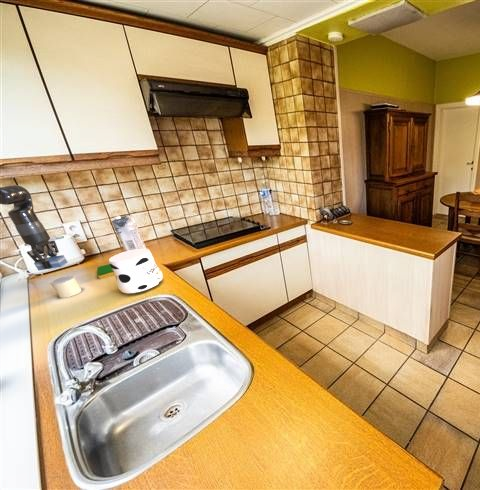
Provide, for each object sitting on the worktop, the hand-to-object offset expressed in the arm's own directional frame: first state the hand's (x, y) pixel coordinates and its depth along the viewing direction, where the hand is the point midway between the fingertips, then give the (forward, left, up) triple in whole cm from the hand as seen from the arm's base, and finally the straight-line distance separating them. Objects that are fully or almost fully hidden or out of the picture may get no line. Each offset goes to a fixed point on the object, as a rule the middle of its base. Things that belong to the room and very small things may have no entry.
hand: (53, 265), depth 123 cm
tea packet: (0, 0, 0) cm, 0 cm away
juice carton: (+16, +38, -16) cm, 45 cm away
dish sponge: (+7, +20, -16) cm, 27 cm away
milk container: (+33, -9, -16) cm, 38 cm away
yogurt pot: (0, 0, -16) cm, 16 cm away
